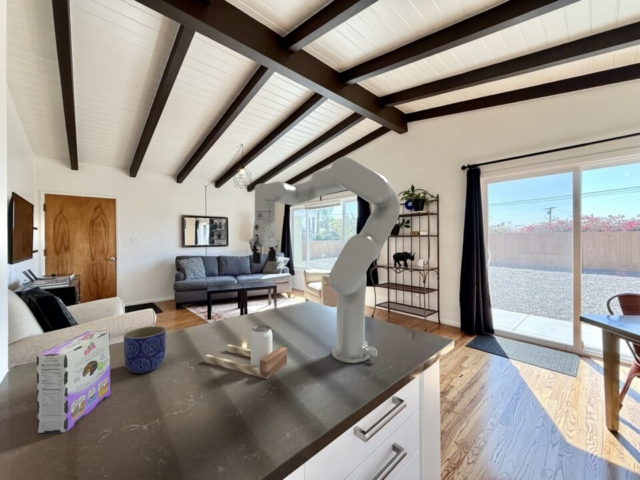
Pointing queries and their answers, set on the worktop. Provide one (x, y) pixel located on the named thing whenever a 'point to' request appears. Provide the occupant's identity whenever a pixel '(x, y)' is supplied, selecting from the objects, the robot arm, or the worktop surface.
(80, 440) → the worktop surface
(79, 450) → the worktop surface
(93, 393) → the candy box
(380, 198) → the robot arm
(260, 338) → the can
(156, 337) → the planter
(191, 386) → the worktop surface
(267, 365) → the rail channel
